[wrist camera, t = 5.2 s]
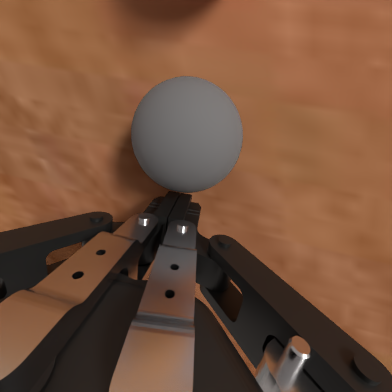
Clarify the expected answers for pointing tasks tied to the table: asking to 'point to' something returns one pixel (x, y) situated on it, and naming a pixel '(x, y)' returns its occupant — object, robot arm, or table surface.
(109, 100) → the table surface
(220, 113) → the grey ball
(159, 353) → the robot arm
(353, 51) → the table surface
